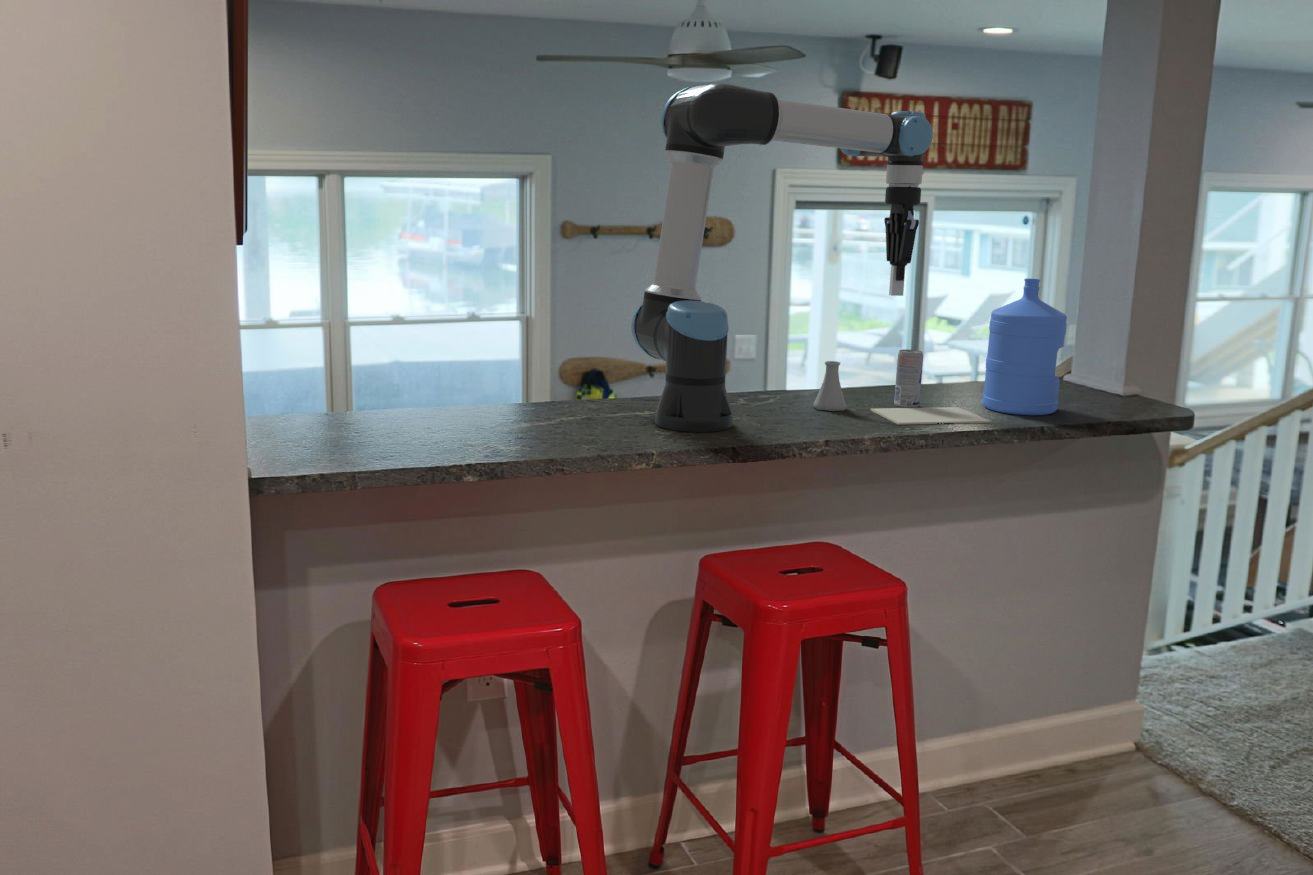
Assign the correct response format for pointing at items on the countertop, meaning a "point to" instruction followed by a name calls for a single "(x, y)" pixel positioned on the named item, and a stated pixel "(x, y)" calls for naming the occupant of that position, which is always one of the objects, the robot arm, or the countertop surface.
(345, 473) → the countertop surface
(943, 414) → the mat
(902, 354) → the energy drink
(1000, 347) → the water jug
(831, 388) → the flask
